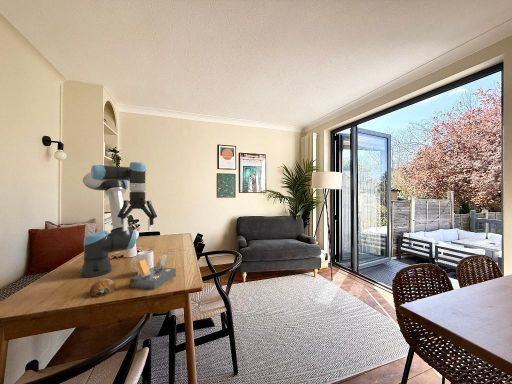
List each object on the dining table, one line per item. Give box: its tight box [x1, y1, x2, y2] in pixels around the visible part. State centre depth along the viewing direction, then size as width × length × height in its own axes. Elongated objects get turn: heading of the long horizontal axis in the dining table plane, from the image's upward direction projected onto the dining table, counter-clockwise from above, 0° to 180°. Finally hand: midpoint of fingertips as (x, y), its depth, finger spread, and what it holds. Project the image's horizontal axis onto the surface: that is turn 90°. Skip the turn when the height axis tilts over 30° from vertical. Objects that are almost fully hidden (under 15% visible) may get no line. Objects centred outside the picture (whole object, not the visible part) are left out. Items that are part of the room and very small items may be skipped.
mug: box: [130, 250, 154, 275], centre depth 130 cm, size 12×8×12 cm
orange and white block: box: [136, 259, 151, 278], centre depth 115 cm, size 2×5×8 cm, turn 167°
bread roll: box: [89, 277, 116, 298], centre depth 106 cm, size 10×10×8 cm
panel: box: [129, 253, 177, 290], centre depth 119 cm, size 14×18×12 cm
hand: (137, 230), depth 120 cm, fingers open, 13 cm apart
